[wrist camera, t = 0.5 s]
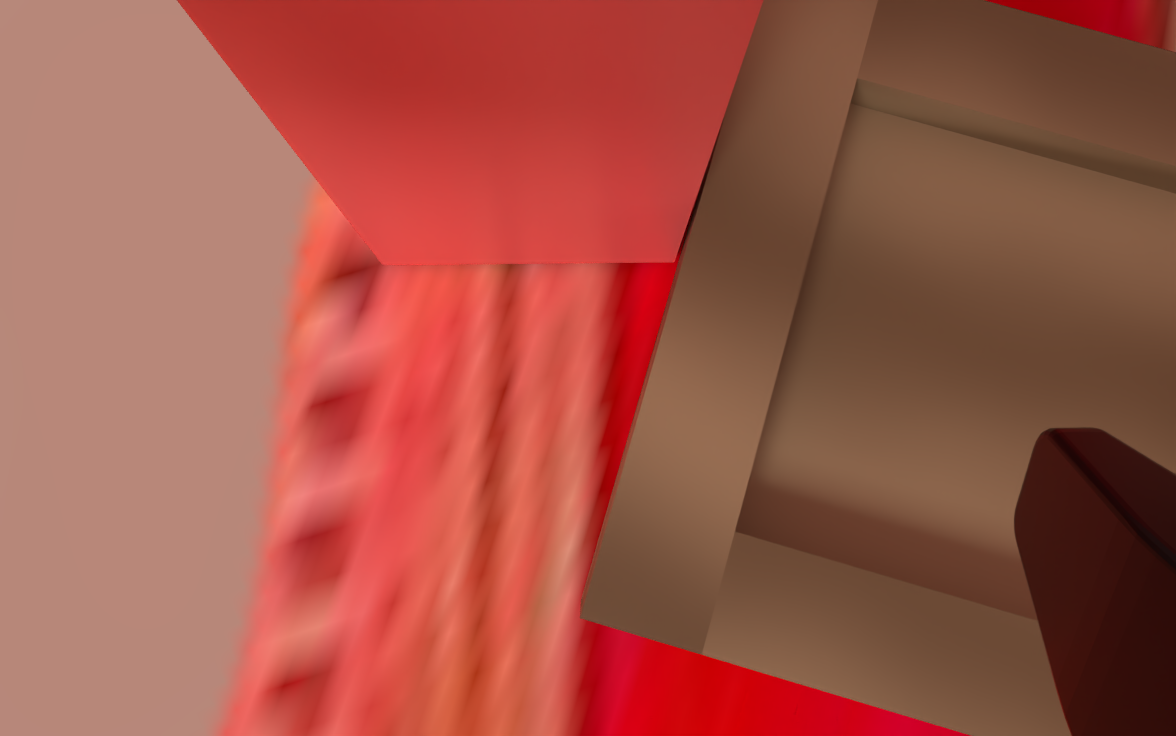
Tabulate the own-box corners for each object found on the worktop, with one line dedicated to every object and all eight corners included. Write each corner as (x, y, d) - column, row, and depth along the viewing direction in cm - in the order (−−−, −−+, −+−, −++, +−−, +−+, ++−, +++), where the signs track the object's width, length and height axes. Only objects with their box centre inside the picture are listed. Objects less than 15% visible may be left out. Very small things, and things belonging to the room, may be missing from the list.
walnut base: (1181, 780, 20) (1326, 842, 16) (580, 600, 21) (580, 617, 17) (1297, 200, 22) (1455, 128, 18) (740, 46, 22) (774, -57, 18)
